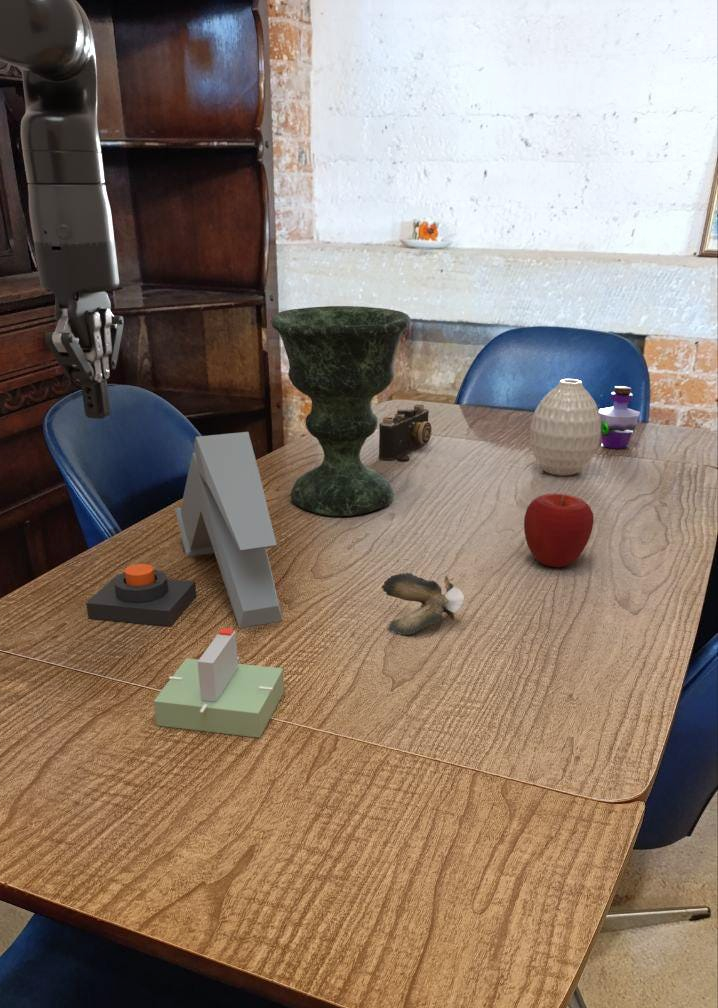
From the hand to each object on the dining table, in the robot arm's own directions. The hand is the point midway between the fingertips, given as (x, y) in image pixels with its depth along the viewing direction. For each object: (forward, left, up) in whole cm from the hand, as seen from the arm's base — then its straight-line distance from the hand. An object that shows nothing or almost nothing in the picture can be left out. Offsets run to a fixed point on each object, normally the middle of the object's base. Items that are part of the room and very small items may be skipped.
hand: (98, 416), depth 93 cm
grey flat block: (+16, -12, -24) cm, 31 cm away
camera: (+21, +87, -27) cm, 93 cm away
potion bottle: (+62, +100, -27) cm, 121 cm away
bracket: (+6, +20, -27) cm, 34 cm away
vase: (+51, +80, -27) cm, 99 cm away
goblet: (+14, +56, -27) cm, 64 cm away
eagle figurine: (+34, +12, -27) cm, 45 cm away
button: (-2, +9, -23) cm, 25 cm away
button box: (-2, +9, -27) cm, 28 cm away
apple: (+50, +35, -27) cm, 67 cm away
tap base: (+16, -12, -27) cm, 34 cm away
